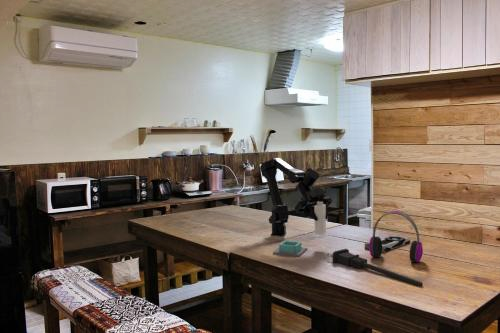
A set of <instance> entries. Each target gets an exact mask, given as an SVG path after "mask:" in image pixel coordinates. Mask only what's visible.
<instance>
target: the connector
mask: <svg viewBox="0 0 500 333" xmlns="http://www.w3.org/2000/svg"><path fill="white" fill-rule="evenodd" d="M313 210H314V212H315V214H316V216H317V218H318V220H317V221H316V220H314V235H325V234H326V232H327V229H326V228H327V225H326V224H327V222H326V221H327V219H326V210H327V208H326V205H323V202H317V205H315V206H314V209H313Z"/></svg>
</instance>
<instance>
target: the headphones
mask: <svg viewBox="0 0 500 333" xmlns="http://www.w3.org/2000/svg"><path fill="white" fill-rule="evenodd" d="M391 214H392V215H393V214H394V215H395V214H396V215H400V216H402V217H404V218H405V219H406V220H408V222H409V223H411V225H412V227H413V228H414V231H415V233H416V239H417V240H413V241H412V242H410V243H411V244H410V248H409V261H410V262H411V263H415V262H416V263H419V264H420V261H421V260H422V257H423V254H424V253H423V250H424V248H423V242H422V241H420V232H419V229H418V227H417V224H416V223H415V221H414V219H413V218H412V217H411V216H410V215H409V214H407V213H406V212H403V211H399V210H391V211H388V212H386V213H384V214H383V215H381V216H380V217H379V218H378V219H377V220H376V222H375V224H374V227H373V229H372V236H371V237H370V239H369V242H370V244H369V249H368V250H369V254H370V256H371V258H377V259H378V258H380V257H381V256H382V253H383V252H382V241H381V239H382V238H381V237H380V236H376V233H377V232H376V231H377V230H376V229H377V226H378V224H379V222H380V221H381V220H382V218H384V217H385V216H387V215H391Z"/></svg>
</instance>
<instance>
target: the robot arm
mask: <svg viewBox="0 0 500 333" xmlns="http://www.w3.org/2000/svg"><path fill="white" fill-rule="evenodd" d="M259 169H260V172H261V175H262V176H263V178H265V179H266V182H267V187H268V190H269V195H270V199H271V202H272V206H271V207H272V208H271V215H270V217H269V218H268V223H269V224H271V233H270V236H276V237H282V236H283V237H284V236H285V235H286V234H287V225H286V224H287V223H288V221H289V217H290V211H289V207H288V205H287V204H284V203H283V200H282V196H281V193H280V189H279V186H278V182H277V181H278V180H277V177H276V176H277V173H278V170H279V171H281V172H282V173H283V174H285V175H286V176H287V180H289V182H290V183H291V184H297V185H295V188H294V191H295V192H298V193H299V195H300V196H301V198H300V199H301V200H298V201H297V203H296V205H295V206H294V210H295V213H302V214H305V215H307V216H308V217H309V218H311V219H312V220H314V221H315V220H316V221H317V220H318V218H317V216H316V214H315V212H314V209H313V207H314V206H315V205H317V202H323V205H326V220H328V212H327V209H328V208H329V206H331V204H332V203H333V200H332V198H331V197H323V196H325V194H327V190H326V189H325V187H324V186H322V187H320V188H315V189H312V188H311V187H313V186H314V185H315V184H316V182H317V181H318V179H319V178H320V173H319V172H317V171H316V170H314V169H312V167H311V168H307V169H306V171H303V170H300V169H297V168H294V167H292V166H291V165H290V164H288V163H287V162H286V161H284V160H283V159H282V158H281V157H273V158H270V159H269V160H266V161H264V162H262V163H261V164H260V166H259ZM321 197H323V198H322V199H321Z"/></svg>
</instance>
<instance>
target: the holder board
mask: <svg viewBox="0 0 500 333" xmlns="http://www.w3.org/2000/svg"><path fill="white" fill-rule="evenodd" d="M306 251H308V247H302V242H301V241H293V240H284V241H282V242H280V243H279V244H278V248H277V249H275V250H274V251H273V252H272V255H281V256H288V257H289V256H290V257H299V258H300V257H301V256H302V255H303V254H304V253H306Z"/></svg>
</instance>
